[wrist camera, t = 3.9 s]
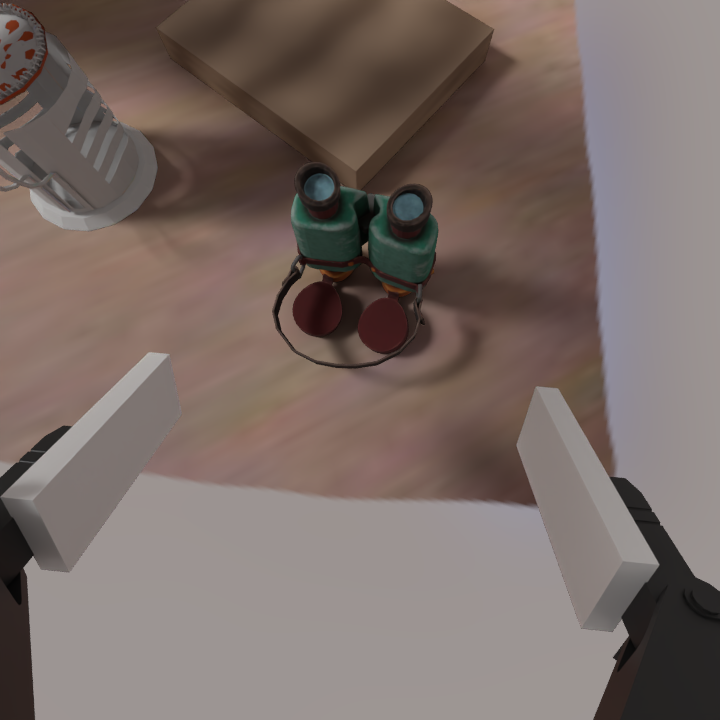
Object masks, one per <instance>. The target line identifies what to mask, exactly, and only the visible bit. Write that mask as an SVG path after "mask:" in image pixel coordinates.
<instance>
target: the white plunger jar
mask: <svg viewBox="0 0 720 720" xmlns="http://www.w3.org/2000/svg"><path fill="white" fill-rule="evenodd" d="M67 63H68V64H69V65H71V69H72V70H71V69H70V67H69V66H68V65H67ZM87 86H89V87H91V88H92V89H94V90H95V94H94V93H92V92H91V91H89V90H87V89H86V88H87ZM26 90H27V91H28V92H29V94H28V95H27V96H26V97H25V98H24V99H23V100H22V101H21V102H20V103H19V104H18V105H16V106H14V107H13V108H11V109H10V110H8V111H6V112H5V113H3V114H2V115H0V128H2V127H4V126H5V125H7V124H9V123H11V122H13V121H14V120H16V119H17V118H19V117H20V116H22V115H23V114H24V113H26V112H27V111H28V110H29V109H30V108H31V107H32V106H34V105H35V104H36V103H37V102H38V103H39V104H40V105H41V106H42V107H43V108H44V109H42V110H41V111H40V112H39V113H38V114H37V115H36V116H35V117H34V118H33V119H32V120H30V121H29V122H27V123H26V124H24V125H23V126H21V127H20V128H18V129H14V130H11V131H7V132H4V133H3V134H4V135H6V137H4V138H3V139H1V140H0V165H1V166H3V167H4V168H5V169H6V170H7V171H9V172H10V173H11V174H12V175H14V176H15V177H16V178H17V179H16V178H14V177H12V176H10V175H8V174H7V173H5V172H4V171H3V170H2V169H0V175H1V176H2V177H4V178H5V179H7V180H9V181H11V182H14V184H13V185H9V186H5V187H1V186H0V191H4V192H6V191H9V190H12V189H16V188H18V187H19V186H20V185H21V186H24V187H27V188H30V196H31V201H32V203H33V204H34V205H35V207H36V208H37V210H38V211H39V213H40V214H41V215H42V217H43V218H44V219H46V220H48V221H50V222H52V223H53V224H55V225H57V226H59V227H61V228H63V229H69V230H81V231H92V230H96V229H100V228H103V227H107V226H111V225H115V224H116V223H118V222H119V221H121V220H123V219H124V218H126V217H127V216H129V215H130V214H132V213H133V212H135V211H136V210H137V209H138V208H139V207H140V205H141V204H142V203H143V201H144V200H145V199H146V197H147V196H148V195H149V193H150V192H151V191H152V189H153V185H154V181H155V177H156V173H157V169H158V166H157V161H156V156H155V152H154V147H153V146H152V145H151V144H150V142H149V141H148V140H147V139H146V137H145V136H144V135H143V134H142V133H141V131H139V130H137V129H135V128H132V127H130V126H128V125H126V124H124V123H122V122H119V121H118V119H117V118H116V117H115V116H114V115H113V112H112V111H111V110H110V108H109V107H108V106H107V104H106V103H105V102H104V101H103V100H102V99H101V96H100V94H99V93H98V92H97V90H96V89H95V88H94V87H93V86H92V85H91V83H90V82H89V81H88V78H87V76H86V75H85V74H84V72H83V71H82V70H81V68H80V67H79V66H78V64H77V63H76V62H75V60H74V59H73V58H72V56H71V55H70V53H69V52H68V51H67V50H66V48H65V47H64V46H63V45H62V43H61V42H60V41H59V40H58V38H57V37H56V36H55V35H52V34H50V33H48V32H45V29H44V27H43V26H42V24H41V23H40V22H39V21H38V19H37V18H36V17H35V16H34V15H33V13H31V12H29V11H27V10H25V9H23V8H20V7H18V6H16V5H14V4H6V3H0V105H1V104H4V103H6V102H8V101H10V100H11V99H13V98H15V97H16V96H18V95H20V94H21V93H23V92H25V91H26ZM92 97H93V98H92ZM101 103H103V104H104V105H106V106H107V109H105V108H103V107H101ZM103 112H104V113H106V114H104V113H103ZM113 118H114V119H116V120H117V121H118V122H116V121H113ZM13 144H15V145H17V146H18V147H19V148H20V149H21V150H20V151H18V152H17V153H15V157H14V156H13V155H12V154H11V153H10V152H9V151H8V148H9V147H10V146H12V145H13Z"/></svg>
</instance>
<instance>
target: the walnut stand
mask: <svg viewBox="0 0 720 720" xmlns="http://www.w3.org/2000/svg"><path fill="white" fill-rule="evenodd" d="M156 29H157V31H158V33H159V35H160V37H161V39H162V41H163V43H164V45H165V47H166V49H167V51H168V54H169V56H170V58H171V59H172V60H174V61H175V62H176V63H178V64H179V65H181V66H182V67H183V68H185V69H186V70H187V71H189V72H190V73H192V74H193V75H194V76H196V77H197V78H198V79H200V80H201V81H202V82H204V83H205V84H207V85H208V86H209V87H211V88H212V89H213V90H215V91H216V92H218V93H219V94H220V95H222V96H223V97H224V98H226V99H227V100H229V101H230V102H231V103H233V104H234V105H235V106H237V107H238V108H239V109H241V110H242V111H244V112H245V113H246V114H248V115H249V116H250V117H252V118H253V119H255V120H256V121H257V122H259V123H260V124H261V125H263V126H264V127H266V128H267V129H268V130H270V131H271V132H272V133H274V134H275V135H276V136H278V137H279V138H281V139H282V140H283V141H285V142H286V143H287V144H289V145H290V146H292V147H293V148H294V149H296V150H297V151H298V152H300V153H301V154H302V155H304V156H305V157H307V158H308V159H309V160H311V161H312V162H320V163H324V164H326V165H328V166H329V167H330V168H332V169H333V170H334V172H335V173H336V174H337V176H338V178H339V182H341V183H342V184H344V185H345V186H346V187H348V188H353V189H357V190H361V189H362V188H363V187H364V186H365V185H366V184H367V183H368V182H369V181H370V180H371V179H372V178H373V177H374V176H375V175H376V174H377V173H378V172H379V171H380V169H381V168H382V167H383V166H384V165H385V164H386V163H387V162H388V161H389V160H390V159H391V158H392V157H393V156H394V155H395V154H396V153H397V152H398V151H399V150H400V149H401V148H402V146H403V145H404V144H405V143H406V142H407V141H408V140H409V139H410V138H411V137H412V136H413V135H414V134H415V133H416V132H417V131H418V130H419V129H420V128H421V127H422V126H423V125H424V123H425V122H426V121H427V120H428V119H429V118H430V117H431V116H432V115H433V114H434V113H435V112H436V111H437V110H438V109H439V108H440V107H441V106H442V105H443V104H444V103H445V102H446V100H447V99H448V98H449V97H450V96H451V95H452V94H453V93H454V92H455V91H456V90H457V89H458V88H459V87H460V86H461V85H462V84H463V83H464V82H465V81H466V80H467V79H468V78H469V76H470V75H471V74H472V73H473V72H474V71H475V70H476V69H477V68H478V67H479V66H480V65H481V64H482V63H483V62H484V61H485V58H486V55H487V51H488V48H489V45H490V41H491V38H492V34H493V31H494V29H493V28H491V27H490V26H488V25H486V24H485V23H483V22H481V21H480V20H478V19H476V18H475V17H473V16H471V15H470V14H468V13H466V12H465V11H463V10H461V9H460V8H458V7H456V6H455V5H453V4H451V3H450V2H448V1H446V0H189V1H187V2H186V3H185V4H184V5H182V6H181V7H180V8H179V9H178V10H176V11H175V12H174V13H173V14H172V15H170V16H169V17H168V18H167V19H166V20H164V21H163V22H162V23H161V24H160V25H158V26H157V27H156Z"/></svg>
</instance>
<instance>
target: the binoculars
mask: <svg viewBox="0 0 720 720" xmlns="http://www.w3.org/2000/svg"><path fill="white" fill-rule="evenodd" d="M294 181H295V188H296V191H297V194H296V196H295V198H294V201H293V205H292V209H291V223H292V226H293V230H294V233H295V237H296V240H297V246H298V253H299V255H298V256H297V257H296V258H295V260H294V262H293V263H292V265H291V269H290V272H289V274H288V276H287V277H286V278H285V279H284V281H283V282H282V288H281V289H280V291H279V292H278V294H277V297H276V300H275V303H274V307H273V310H272V313H273V318H274V322H275V326H276V329H277V331H278V332H279V333H280V335H281V336H282V337H283V339H284V340H285V341H286V343H287V344H288V345H289V347H290V348H291V349H292V351H293V352H295V353H296V354H298V355H300V356H302V357H304V358H306V359H308V360H310V361H312V362H314V363H316V364H319V365H324V366H330V367H335V368H354V369H356V368H362V367H369V366H376V365H379V364H381V363H383V362H385V361H387V360H389V359H391V358H393V357H395V356H397V355H399V354H400V353H401V352H402V351H403V350H404V349H405V348H406V347H407V345H408V344H409V343H410V342H411V341H412V340H413V339H414V338H415V335H416V332H417V329H418V326H419V323H421V324H422V325H425V323H424V319H423V317H422V314H421V311H420V308H421V305H422V301H423V300H422V298H421V297H422V289H423V288H424V287H425V285H426V284H427V282H428V281H429V279H430V276H431V274H433V273H434V269H433V267H434V264H435V261H436V252H435V248H436V243H437V237H438V223H437V221H436V219H435V218H434V216H432V215H431V214H430V212H431V208H432V202H433V200H432V195H431V193H430V191H429V190H428V189H427V188H426V187H424V186H422V185H420V184H408V185H404V186H402V187H400V188H398V189H397V190H396V191H395V192H394V193H393V194H392V195H391V196H390V197H389V196H384V195H379V194H376V195H373V194H372V193H371V194H368V195H367V193H366V192H365V191H361V190H357V189H353V188H348V187H343V186H340V182H339V178H338V176H337V174H336V173H335V172H334V170H333V169H332V168H330V167H329V166H328V165H326V164H324V163H320V162H310V163H307V164H304V165H303V166H302V167H300V169H299V170H298V171H297V173H296V175H295V180H294ZM366 242H368V254H369V259H368V258H366V257H364V256H362V245H364V244H365V243H366ZM298 261H299V263H300V265H302V267H301V269H300V271H299V269H298V267H297V266H295V265H296V264H297V262H298ZM361 263H365V264H367V265H368V266H369V267H370V270H371V271H372V273H373V274H374V276H375V277H376V278H378V279H379V280H380V281H381V282H382V285H383V288H384V290H385V291H386V292H387V293H388V294H389V295H388V298H381V299H378V300H376V301H375V302H373V303H372V304H370V305H369V306H368V307H367V308H366V309H365V310H364V312H363V313H362V315H361V317H360V319H359V322H358V333H359V336H360V339H361V340H362V342H363V343H364V344H365V345H366V346H367V347H368V348H370V349H371V350H373V351H375V352H377V353H382V354H386V353H391V352H394V351H396V350H398V349H399V348H400V347H401V346H402V345H403V344H404V343H405V341H406V339H407V336H408V331H409V326H408V320H407V317H406V315H405V313H404V310H403V308H402V307H401V305H400V304H399V303H398V300H399V297H402V296H405V295H408V294H409V293H411V292H416V298H415V299H414V303H413V305H414V312H415V316H416V319H417V325H416V329H415V332H414V334H413V335H412V336H411V338H410V339H409V340H408V341H407V342H406V343H405V344H404V345H403V346H402V347H401V348H400V350H398V351H396V352H394V353H392V354H390V355H388V356H386V357H384V358H382V359H380V360H378V361H375V362H368V363H361V364H334V363H328V362H323V361H317V360H314V359H312V358H310V357H308V356H306V355H304V354H302V353H300V352H298V351H296V350H295V349H294V347H293V346H292V345H291V343H290V342H289V341H288V339H287V338H286V337H285V335H284V334H283V333H282V331H281V327H280V322H279V318H278V313H279V310H280V307H281V303H282V300H283V299H284V297H285V295H286V294H287V292H288V290H289V289H290V287H291V286H292V285H293V284H294V283H295V282H296V281H297V280H298V279H300V278H301V276H302V274H303V271H304V269H305V265H306V264H307V265H308V266H309V267H311V268H315V269H319V270H320V272H321V273H322V275H323V280H322V282H315V283H313V284H310V285H308V286H307V287H306V288H304V289H303V290H302V291H301V292H300V293H299V294H298V296H297V297H296V299H295V301H294V304H293V317H294V320H295V322H296V324H297V325H298V326H299V328H300V329H301V330H302V331H303V332H305V333H306V334H308V335H311V336H316V337H320V336H325V335H328V334H330V333H332V332H333V331H334V330H335V329H336V328H337V326H338V325H339V323H340V321H341V316H342V305H341V300H340V297H339V295H338V293H337V291H336V290H335V288H334V287H333V286H332V284H333V282H338V281H342V280H344V279H345V278H347V277H348V276H349V275H350V274H351V273H352V272H353V270H354V269H355V268H357V267H358V266H359V265H360V264H361Z"/></svg>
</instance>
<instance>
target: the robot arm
mask: <svg viewBox="0 0 720 720" xmlns="http://www.w3.org/2000/svg"><path fill="white" fill-rule="evenodd" d="M181 415H182V412H181V407H180V403H179V398H178V393H177V388H176V383H175V379H174V374H173V369H172V364H171V359H170V355H169V354H162V353H151V352H149V353H147V354H146V355H145V356H144V357H143V358H142V359H141V360H140V361H139V362H138V363H137V364H136V365H135V366H134V367H133V368H132V369H131V370H130V371H129V372H128V373H127V374H126V375H125V376H124V377H123V378H122V379H121V380H120V381H119V382H118V383H117V384H116V385H115V386H114V387H113V388H112V389H111V390H109V391H108V392H107V393H106V394H105V395H104V396H103V397H102V398H101V399H100V400H99V401H98V402H97V403H96V404H95V405H94V406H93V407H92V408H91V409H90V410H89V411H88V412H87V413H86V414H85V415H84V416H83V417H82V418H81V419H80V420H79V421H78V422H77V423H76V424H75V425H74V426H62V427H60V428H59V429H57V430H55V431H53V432H52V433H50V434H48V435H46V436H45V437H44V438H43V439H41V440H40V441H39V442H38V443H37V444H36V445H35V446H34V447H33V448H32V449H31V451H30V452H27V453H26V454H25V455H24V456H23V457H22V458H21V459H20V461H19V463H16V464H14V465H13V466H12V467H11V468H10V469H9V470H8V471H7V472H6V473H5V474H4V475H3V476H1V477H0V720H35V712H34V695H33V677H32V660H31V642H30V624H29V607H28V589H27V576H26V573H25V571H24V569H23V567H24V566H25V565H26V564H27V563H28V561H29V560H30V559H31V558H32V556H34V558H35V560H36V561H37V563H38V565H39V567H40V568H41V569H42V570H51V571H60V572H70V571H71V570H72V568H73V567H74V565H75V564H76V563H77V561H78V560H79V558H80V557H81V556H82V554H83V553H84V551H85V550H86V549H87V547H88V546H89V544H90V543H91V541H92V540H93V539H94V537H95V536H96V534H97V533H98V532H99V530H100V529H101V527H102V526H103V525H104V523H105V522H106V520H107V519H108V518H109V516H110V515H111V513H112V512H113V510H114V509H115V508H116V506H117V505H118V503H119V502H120V501H121V499H122V498H123V496H124V495H125V494H126V492H127V491H128V489H129V488H130V487H131V485H132V484H133V482H134V481H135V479H136V478H137V477H138V475H139V474H140V472H141V471H142V470H143V468H144V467H145V465H146V464H147V463H148V461H149V460H150V458H151V457H152V456H153V454H154V453H155V451H156V450H157V449H158V447H159V446H160V444H161V443H162V441H163V440H164V439H165V437H166V436H167V434H168V433H169V432H170V430H171V429H172V427H173V426H174V425H175V423H176V422H177V420H178V419H179V418H180V416H181ZM516 446H517V449H518V451H519V454H520V457H521V460H522V463H523V466H524V468H525V471H526V474H527V477H528V480H529V483H530V485H531V488H532V491H533V494H534V497H535V499H536V502H537V505H538V508H539V511H540V514H541V516H542V519H543V522H544V525H545V528H546V530H547V533H548V536H549V539H550V542H551V544H552V548H553V550H554V553H555V556H556V559H557V561H558V565H559V567H560V570H561V573H562V576H563V579H564V582H565V584H566V587H567V590H568V593H569V596H570V598H571V601H572V604H573V607H574V610H575V612H576V615H577V618H578V621H579V624H580V627H581V629H590V630H600V631H608V632H613V631H614V629H615V628H616V626H617V625H618V623H619V622H620V621H621V619H622V620H623V622H624V625H625V627H626V629H627V631H628V634H629V637H628V638H627V640H626V641H625V642H624V643H623V645H622V646H621V647H620V649H619V650H618V652H617V653H616V654H615V656H614V657H613V658H614V659H615V660H617V662H616V664H615V667H614V670H613V672H612V674H611V677H610V680H609V682H608V684H607V687H606V689H605V692H604V694H603V697H602V699H601V702H600V704H599V707H598V710H597V712H596V714H595V717H594V719H593V720H720V591H718V590H717V589H716V588H714V587H713V586H712V585H710V584H708V583H706V582H704V581H702V580H700V579H698V578H696V577H695V576H694V575H693V573H692V572H691V570H690V568H689V567H688V565H687V564H686V562H685V561H684V559H683V557H682V556H681V555H680V553H679V551H678V550H677V548H676V547H675V545H674V543H673V542H672V540H671V539H670V537H669V535H668V534H667V532H666V531H665V529H664V528H663V526H660V521H659V520H658V518H657V517H656V515H655V513H654V512H652V509H651V507H650V506H649V504H648V502H647V501H646V500H645V498H644V496H643V495H642V493H641V492H640V491H639V490H638V489H637V488H635V487H634V486H633V485H632V484H631V483H630V482H629V481H628V480H627V479H625V478H617V477H609V476H608V474H607V473H606V471H605V469H604V467H603V466H602V464H601V462H600V460H599V459H598V457H597V455H596V453H595V452H594V450H593V448H592V447H591V445H590V443H589V441H588V440H587V438H586V436H585V434H584V433H583V431H582V429H581V427H580V426H579V424H578V422H577V420H576V419H575V417H574V415H573V414H572V412H571V410H570V408H569V407H568V405H567V403H566V401H565V400H564V398H563V396H562V394H561V393H560V391H559V389H558V388H549V387H537V386H536V387H535V390H534V393H533V397H532V400H531V403H530V406H529V409H528V412H527V415H526V418H525V421H524V424H523V427H522V430H521V433H520V436H519V439H518V442H517V445H516Z"/></svg>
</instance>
